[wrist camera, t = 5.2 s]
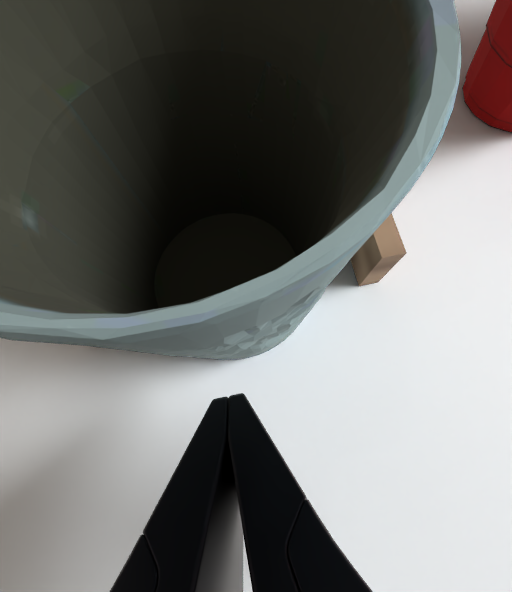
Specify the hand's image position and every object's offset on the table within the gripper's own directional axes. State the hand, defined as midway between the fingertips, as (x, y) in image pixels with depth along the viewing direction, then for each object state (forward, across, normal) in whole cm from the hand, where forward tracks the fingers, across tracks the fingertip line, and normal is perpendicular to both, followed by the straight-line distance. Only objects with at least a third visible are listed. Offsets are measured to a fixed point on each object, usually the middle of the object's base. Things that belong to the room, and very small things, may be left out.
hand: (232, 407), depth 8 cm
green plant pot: (+9, 0, 0) cm, 9 cm away
